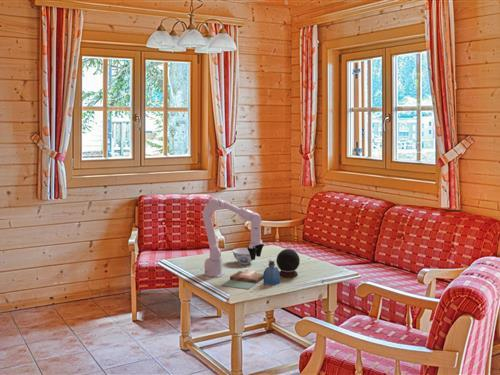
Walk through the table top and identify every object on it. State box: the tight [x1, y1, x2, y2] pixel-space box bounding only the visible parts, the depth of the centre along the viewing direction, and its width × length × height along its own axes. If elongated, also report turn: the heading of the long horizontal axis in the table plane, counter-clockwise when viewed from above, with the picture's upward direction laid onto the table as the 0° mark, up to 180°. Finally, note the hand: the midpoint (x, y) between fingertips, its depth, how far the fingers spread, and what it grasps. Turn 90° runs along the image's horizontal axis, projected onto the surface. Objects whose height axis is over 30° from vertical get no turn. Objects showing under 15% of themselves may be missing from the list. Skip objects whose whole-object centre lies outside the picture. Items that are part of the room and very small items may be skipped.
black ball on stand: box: [275, 248, 301, 279], centre depth 315 cm, size 13×13×15 cm
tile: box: [239, 269, 257, 278], centre depth 308 cm, size 6×9×2 cm, turn 157°
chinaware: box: [232, 247, 253, 265], centre depth 341 cm, size 15×15×8 cm
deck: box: [229, 270, 264, 285], centre depth 308 cm, size 16×12×2 cm
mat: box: [220, 279, 257, 290], centre depth 297 cm, size 16×10×1 cm, turn 67°
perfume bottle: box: [262, 260, 281, 286], centre depth 300 cm, size 6×6×12 cm
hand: (255, 258), depth 316 cm, fingers open, 7 cm apart
